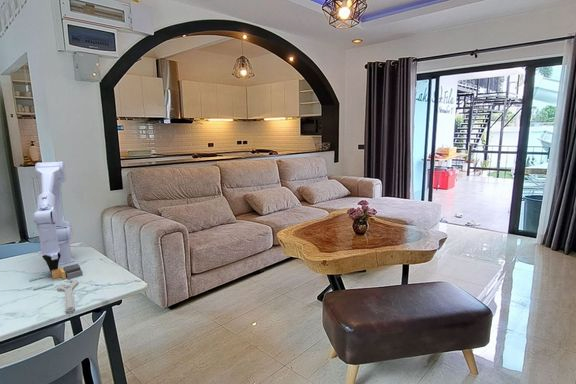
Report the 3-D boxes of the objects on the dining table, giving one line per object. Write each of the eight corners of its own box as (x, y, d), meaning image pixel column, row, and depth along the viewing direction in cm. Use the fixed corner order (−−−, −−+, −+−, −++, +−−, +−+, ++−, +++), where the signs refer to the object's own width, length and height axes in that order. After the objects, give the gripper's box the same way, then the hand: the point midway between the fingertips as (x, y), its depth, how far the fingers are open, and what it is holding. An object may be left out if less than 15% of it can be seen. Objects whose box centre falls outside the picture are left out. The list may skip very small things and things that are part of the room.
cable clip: (63, 273, 136) (62, 268, 135) (77, 269, 139) (76, 264, 139) (68, 279, 130) (67, 274, 129) (82, 275, 133) (82, 270, 133)
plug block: (64, 275, 135) (63, 267, 134) (79, 271, 138) (77, 263, 137) (66, 279, 131) (65, 270, 130) (81, 275, 134) (80, 267, 133)
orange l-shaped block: (52, 277, 132) (51, 270, 131) (63, 274, 134) (62, 267, 133) (55, 281, 128) (54, 274, 128) (66, 278, 131) (64, 271, 130)
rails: (29, 281, 129) (29, 280, 129) (47, 276, 133) (47, 275, 133) (33, 291, 121) (33, 289, 121) (53, 285, 125) (53, 284, 125)
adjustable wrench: (75, 313, 107) (75, 308, 107) (51, 319, 104) (50, 314, 104) (78, 282, 128) (78, 278, 128) (58, 286, 125) (58, 282, 125)
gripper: (33, 237, 134) (38, 269, 137) (39, 246, 124) (45, 280, 126) (54, 233, 139) (59, 264, 141) (62, 241, 128) (67, 274, 131)
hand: (54, 271), depth 134 cm, fingers closed
